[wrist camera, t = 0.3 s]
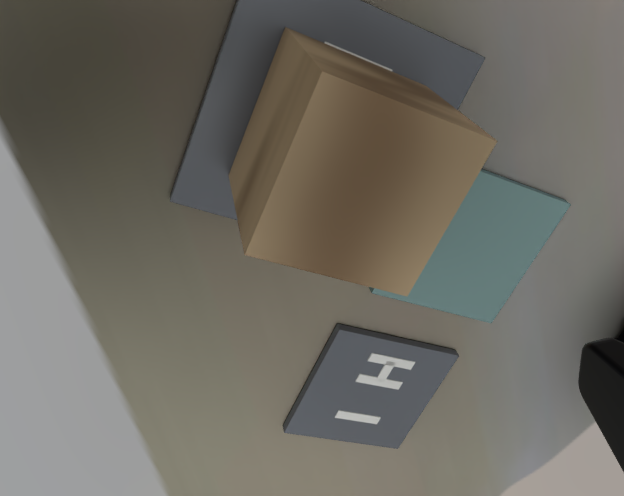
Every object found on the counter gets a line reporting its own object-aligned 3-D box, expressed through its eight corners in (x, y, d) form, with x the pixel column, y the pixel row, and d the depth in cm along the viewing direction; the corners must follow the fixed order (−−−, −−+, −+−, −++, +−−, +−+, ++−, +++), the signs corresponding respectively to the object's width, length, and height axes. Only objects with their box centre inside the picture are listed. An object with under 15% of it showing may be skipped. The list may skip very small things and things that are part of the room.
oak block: (425, 85, 19) (497, 140, 15) (360, 215, 21) (407, 296, 17) (285, 27, 17) (322, 71, 13) (228, 175, 19) (244, 254, 15)
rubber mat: (565, 199, 23) (570, 204, 23) (487, 317, 26) (491, 323, 25) (441, 153, 21) (445, 157, 21) (368, 287, 24) (371, 293, 23)
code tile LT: (480, 55, 19) (485, 58, 19) (374, 253, 23) (377, 259, 22) (253, -50, 17) (255, -48, 16) (170, 196, 20) (169, 202, 19)
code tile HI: (455, 349, 26) (459, 356, 26) (394, 442, 29) (397, 449, 28) (337, 323, 24) (339, 330, 24) (282, 425, 27) (284, 433, 26)
